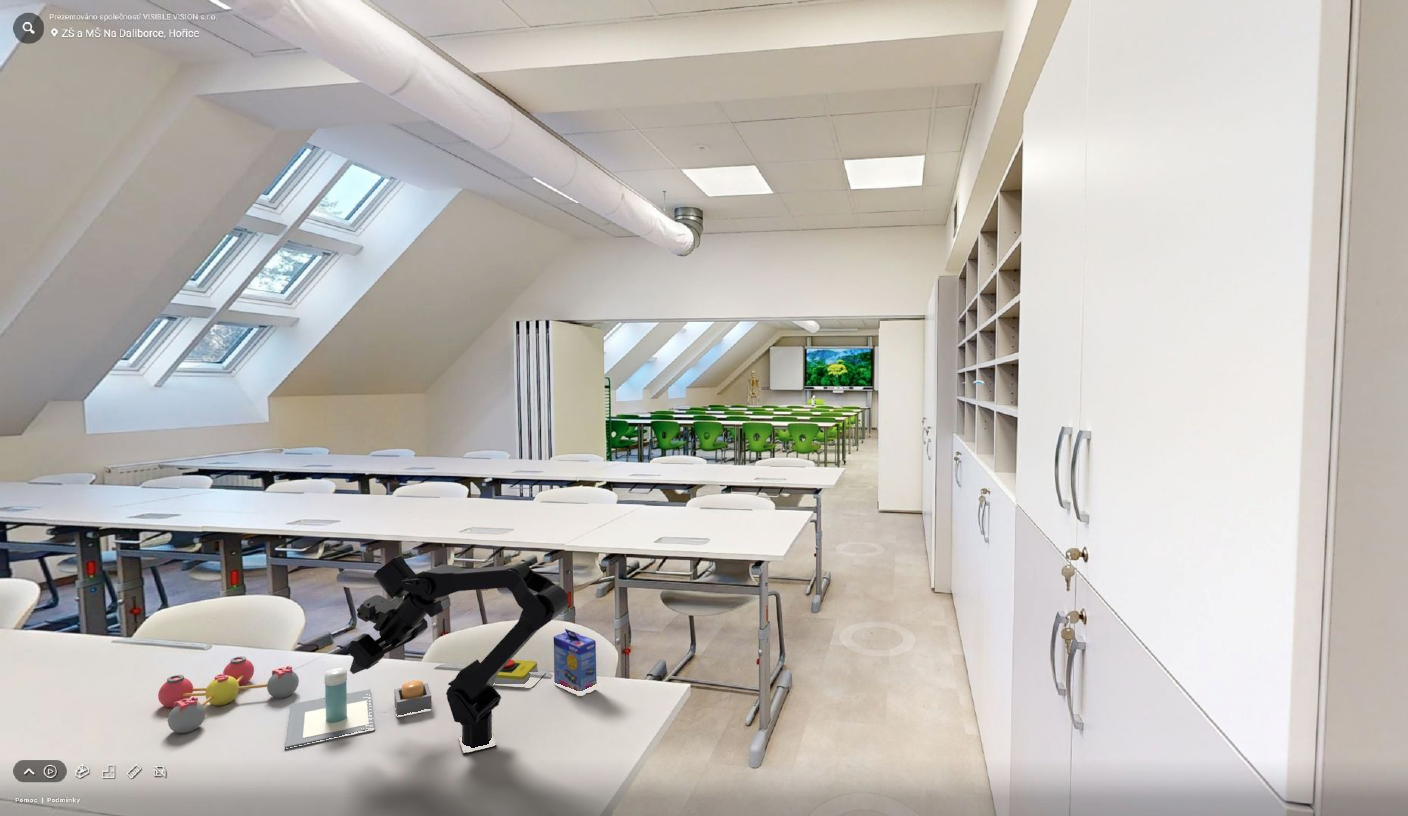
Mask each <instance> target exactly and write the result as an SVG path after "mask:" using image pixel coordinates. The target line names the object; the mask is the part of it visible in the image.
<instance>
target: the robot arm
mask: <svg viewBox="0 0 1408 816" xmlns="http://www.w3.org/2000/svg"><path fill="white" fill-rule="evenodd" d="M373 579H375V581H376V582H377V583H378V584H379V585H380V586H381V588H382V589H383V591H385V593H386V594H387V595H388V596H389V597H390V598H391V599H393V598H396V597H397V598H398V599H400V598H402V599H401V601H400V602H399V603H398V604H397V605H396V604H395V603H394V602H393V601H391V600H390V599H388V598H386V597H383V596H382V595H378V594H375V595H373V596H371V597H369V598H366V599H365V600H363V603H360V605H359V606H358V608H357V607H356V611H357V612H356V613H357V614H356V617H357V618H358V619H360V620H361V621H362V622H365V623H367V622H371V623H373V624H374V625H373V627H372V628H373V629H374V630H375V632H378V634H379V638H377V639H376V640H375V639H374V638H373V637H372V636H371V634H369V633H362V634H360V635H359V636H357V637H355V638H353V639H352V640H350V642H348V644H347V645H346V648H345V649H346V650H345V651H346V652H347V653H348V654H349V655H350V656H351V657H352V658H353V659H352V661H351V665H350V668H349V672H350V673H351V674H352V675H355V674H357V673H359V672H362V671H365V670H368V669H370V668H372V667H374V666H375V665H377V664H378V663H379V662H380V661H381V660H382V659H383V658H384V656H385V655H386V654H387V653H389V652H391V651H393V650H395V649H398V648H399V647H402V646H403V645H406V644H408V643H410V642H411V641H413V640H414V639H417V637H419V636H420V635H422V634H424V632H425V631H426V630H427V629H428V628H429V627H428V626H429V624H428V621H427V620H426V618H425V617H426V616H427V615H428V616H429V617H430V618H433V617H435V616H437V615H439V614H441V613H443V611H444V608H443V604H442V600H441V598H443V597H445V596H448V595H449V596H450V595H451V594H454V593H458V592H466V591H467V592H468V591H478V590H479V591H480V590H492V589H493V590H494V589H507V590H509V591H510V592H511V594H512V596H513V598H514V600H515V601H516V603H517V605H518V606H519V608H521V609H522V610H521V612H520V615H519V617H518V618H519V619H518V621H517V623H516V624H515V625H514V626H513V627H512V628H511V629H509V631H508V632H507V634H506V635H504V637H503V638H502V639H501V640H500V641H499V642H498V643H497V644H496V646H494V648H493V649H492V650H491V651H490V652H489V653H488V654H487V655H486V656H485V658H484V659H482V661H481V662H480V661H479V659H477V658H476V659H475V660H474V661H473V662H471V663H470V664H468V665H467V666H465V667H464V668H462V669H461V670H460V671H459V672H458V673H457V675H456V676H455V678H454V679H452V680H451V681H450V682H448V683H447V685H448V686H449V687H447V690H446V693H445V695H446V699H447V702H448V705H449V709H450V712H451V714H452V718H453V721H454V722H455V723H459V724H460V726H461V736H462V743H463V744H464V745H466V746H470V747H471V748H475V747H478V746H483V745H487V744H489V741H490V740H491V738H492V734H493V710H494V709H495V708H496V707H498V706H499V705H500V702H501V699H502V696H501V694H499V692H498V691H497V690H496V688H495V686H493V684H494V682H495V679H496V676H497V674H498V673H499V672H500V671H501V669H502V668H503V667H504V666H505V665H506V664H507V663H508V662H509V661H510V660H513V658H514V657H515V656H516V654H517V653H518V652H519V651H520V650H521V649H522V648H523V647H524V646H525V645H526V643H528V642H529V640H530V639H531V638H532V637H533V636H534V635H535V634H536V633H537V632H538V631H539V630H541V629H542V628H543V627H544V626H545V625H547V624H548V623H550V622H551V621H552V620H554V619H556V618H557V617H559V616H560V615H562V613H564V612H565V611H566V610H567V608H568V607H569V605H570V602H569V596H568V593H567V592H566V591H565V589H564V588H562V586H559V585H556V583H554V582H553V581H552V580H551V579H550V578H548V577H546V576H544V575H542V574H540V573H539V572H536V571H534V570H533V569H532V568H531V567H530V566H528V565H527V564H525V563H516V564H510V565H509V564H508V565H499V566H498V565H497V566H489V567H488V566H487V567H486V566H485V567H475V568H474V567H473V568H462V567H460V566H459V565H452V564H445V563H443V564H440V565H437V566H434V567H432V568H430V569H426V570H422V571H421V572H418V573H415V571H414V570H413V569H412V567H410V566H409V564H408V563H407V562H406V560H405V558H404V557H403V556H402V555H398V556H395V557H393V558H392V559H391V560H390V561H388V562H387V563H385V564H384V565H383V566H381V567H380V568H378V569H377V570H376V571H375V573H374V574H373ZM532 591H534V592H536V594H534V593H533V592H532ZM438 598H440V599H439V600H438Z"/></svg>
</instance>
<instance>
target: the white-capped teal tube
mask: <svg viewBox="0 0 1408 816" xmlns="http://www.w3.org/2000/svg"><path fill="white" fill-rule="evenodd" d="M347 682H348V670H347V669H346V668H345V667H338V668H332V669H329V670H327V671H325V672H324V686H325V687H324V688H325V689H324V690H325V692H324V695H325V697H324V698H325V703H326V722H328V723H335V722H340V721H342V720H344V719H345V718H346V717H347V693H348V692H347V691H348V687H347Z"/></svg>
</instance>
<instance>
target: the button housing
mask: <svg viewBox="0 0 1408 816" xmlns="http://www.w3.org/2000/svg"><path fill="white" fill-rule="evenodd" d="M393 691H394V693H393V694H394V698H393V699H394V709H395V708H396V710H395V714H397V716H398V715H404V714H407V713H410V712H411V713H412V712H418V711H421V710H424V709H432V705H433V704H432V703H433V702H432V693H431V690H430V687H429V683H428V682H427V683H423V696H419V697H414V698H409V699H404V700H402V687H400V688H395V689H394V690H393ZM397 716H396V717H397Z"/></svg>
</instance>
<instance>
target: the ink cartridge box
mask: <svg viewBox="0 0 1408 816" xmlns="http://www.w3.org/2000/svg"><path fill="white" fill-rule="evenodd" d="M564 631H565V632H563V633H560V634H557V635H555V636H553V669H554V670H553V676H554V677H553V679H554V682H555V683H557V684H561V685H563V686H565V687H569V688H571V689H574V690H576V691H583V690H585V689H587V688H589V687H592V686H593V685H595V684H598V681H597V680H598V679H597V647H596V646H597V644H596V643H597V642H596V640H595V639H593V638H591V637H588V636H584V635H580V633H577V632H576V631H572V630H570V629H568V628H564ZM554 682H553V683H554Z"/></svg>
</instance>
